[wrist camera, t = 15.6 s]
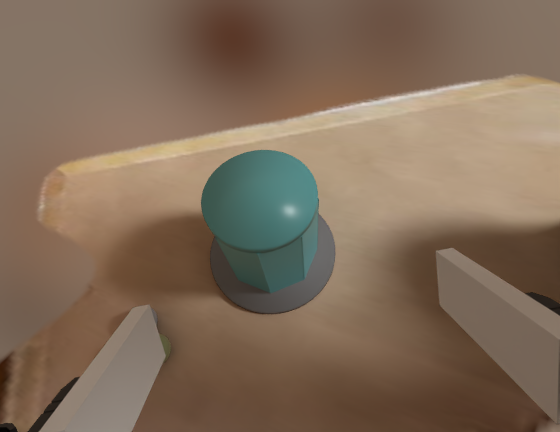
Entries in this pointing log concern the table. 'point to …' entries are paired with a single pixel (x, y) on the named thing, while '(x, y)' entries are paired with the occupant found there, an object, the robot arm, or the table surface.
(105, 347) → the robot arm
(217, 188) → the teal piece
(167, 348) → the olive marble
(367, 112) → the table surface
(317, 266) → the coaster
